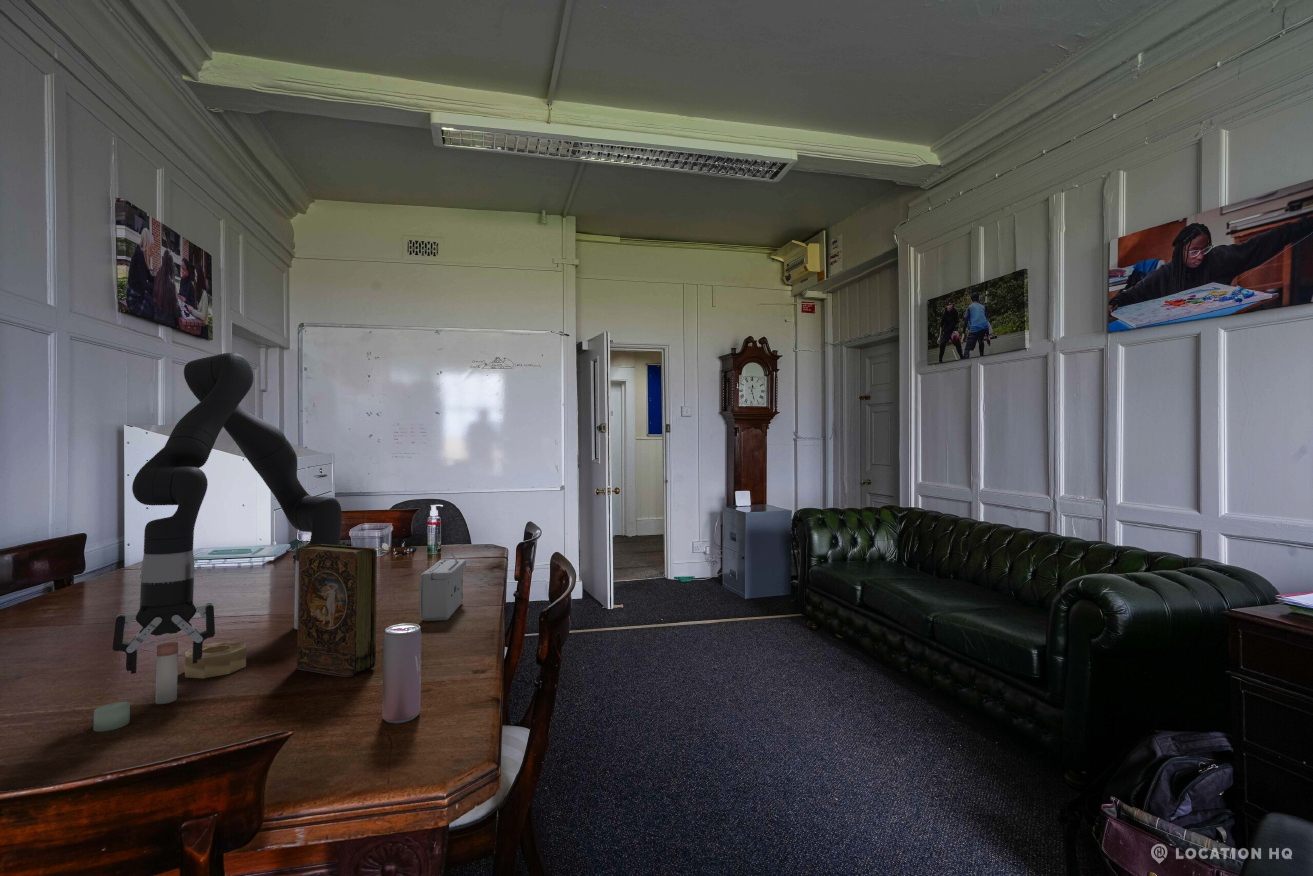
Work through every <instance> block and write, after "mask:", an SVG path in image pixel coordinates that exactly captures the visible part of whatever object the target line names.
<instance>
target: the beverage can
mask: <svg viewBox="0 0 1313 876" xmlns="http://www.w3.org/2000/svg"><path fill="white" fill-rule="evenodd" d="M382 650H383V651H382V652H383V653H382V654H383V655H382V705H381V707H382V708H381V709H382V711H381V716H382V719H383V720H384V721H385V722H386V723H389V724H402V723H408V722H410V721H412V720H414V719H416V718H417V717H418V715H419V714H420V712H421V692H422V691H421V682H422V679H421V677H422V674H421V673H422V631H421V626H420V625H419V624H416V623H399V624H394V625H390V626H388V627H386V628H385V629H384V635H383V649H382Z"/></svg>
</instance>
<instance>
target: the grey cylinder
mask: <svg viewBox="0 0 1313 876" xmlns="http://www.w3.org/2000/svg"><path fill="white" fill-rule="evenodd" d="M178 657H179V642H178V641H172V642H171V641H169V642H164V643H160V644H158V645H157V646H156V670H155V671H156V672H155V673H156V675H155V704H156V705H164V704H170V703H173V702H174V701H175V702H176V700H177V699H178V669H179V668H178V667H179V665H178V663H179V658H178Z"/></svg>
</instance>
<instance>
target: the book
mask: <svg viewBox="0 0 1313 876" xmlns="http://www.w3.org/2000/svg"><path fill="white" fill-rule="evenodd" d="M298 548H299V590H298V630H297V641H296V643H297V646H296V647H297V649H296V652H297V653H296V669H297V670H300V671H308V672H313V673H318V674H324V675H331V676H336V677H344V678H353V677H355V675H356V674H358V673H361V672H363V671H367V670H371V669H373V668H374V667H375V666H376V654H377V649H376V647H377V644H376V643H377V579H378V578H377V576H378V575H377V574H378V569H377V568H378V567H377V565H378V563H377V561H378V555H377V554H378V552H377V549H376V548H374V547H363V546H351V545H340V544H339V545H326V544H317V545H308V546H305V545H302V546H300V547H298Z"/></svg>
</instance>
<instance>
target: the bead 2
mask: <svg viewBox="0 0 1313 876" xmlns="http://www.w3.org/2000/svg"><path fill="white" fill-rule="evenodd" d="M192 652H193V648H191V649H189V650H186V651H185V652H184V678H189V679H190V678H192V679H207V678H213V677H218V676H225V675H229V674H230V675H231V674H232V673H234V672H237V671H239V670H241V669H244V668H247V667H246V666H247V646H246V644H245V641H244V642H243V641H221V642H216V643H215V642H214V643H209V644H208V643H207V644H203V645H202V658H201V659H199V660H197V663H194V664H192Z"/></svg>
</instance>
